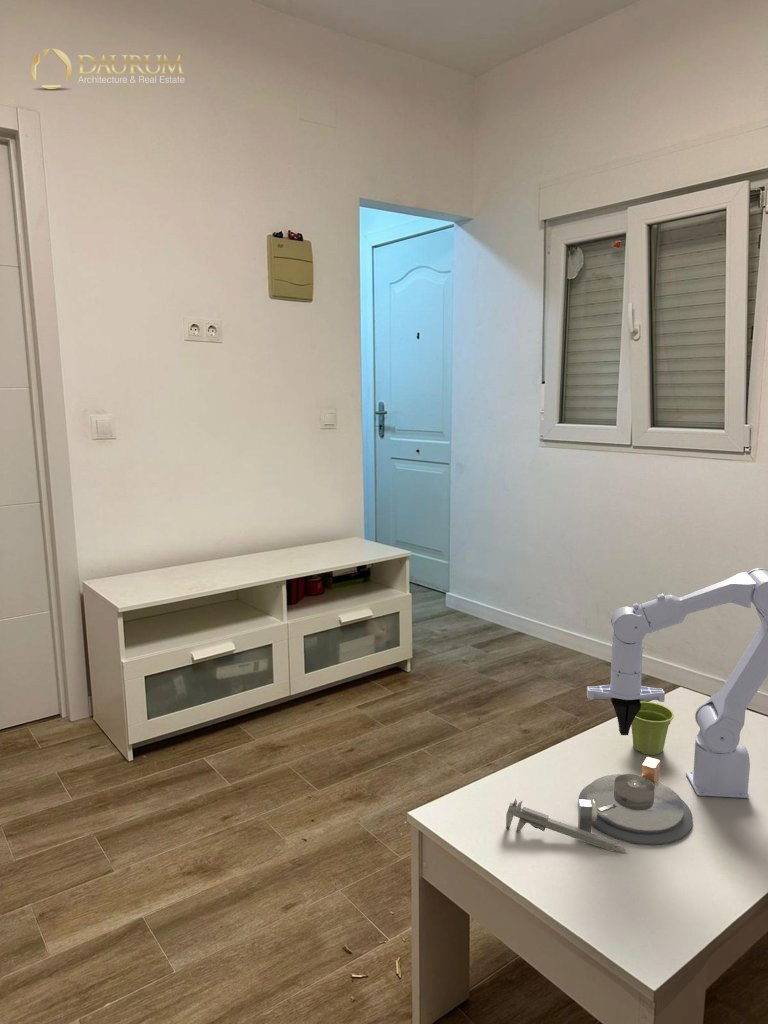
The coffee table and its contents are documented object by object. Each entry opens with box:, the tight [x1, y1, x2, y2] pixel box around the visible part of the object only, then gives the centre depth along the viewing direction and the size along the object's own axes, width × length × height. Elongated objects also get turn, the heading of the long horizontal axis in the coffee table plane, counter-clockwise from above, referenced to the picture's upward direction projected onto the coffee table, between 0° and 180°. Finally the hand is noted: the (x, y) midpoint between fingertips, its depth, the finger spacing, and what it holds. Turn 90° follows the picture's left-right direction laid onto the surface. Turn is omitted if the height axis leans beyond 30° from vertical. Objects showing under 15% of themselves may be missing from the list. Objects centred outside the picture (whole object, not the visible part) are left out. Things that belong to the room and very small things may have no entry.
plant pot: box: [631, 701, 675, 756], centre depth 157 cm, size 9×9×9 cm
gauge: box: [577, 799, 597, 833], centre depth 129 cm, size 3×4×6 cm
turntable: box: [587, 756, 684, 834], centre depth 135 cm, size 17×20×4 cm
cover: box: [614, 773, 655, 810], centre depth 134 cm, size 7×7×3 cm
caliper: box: [505, 798, 627, 854], centre depth 127 cm, size 20×1×6 cm, turn 70°
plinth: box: [577, 783, 694, 846], centre depth 135 cm, size 20×20×1 cm
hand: (623, 732), depth 145 cm, fingers closed
